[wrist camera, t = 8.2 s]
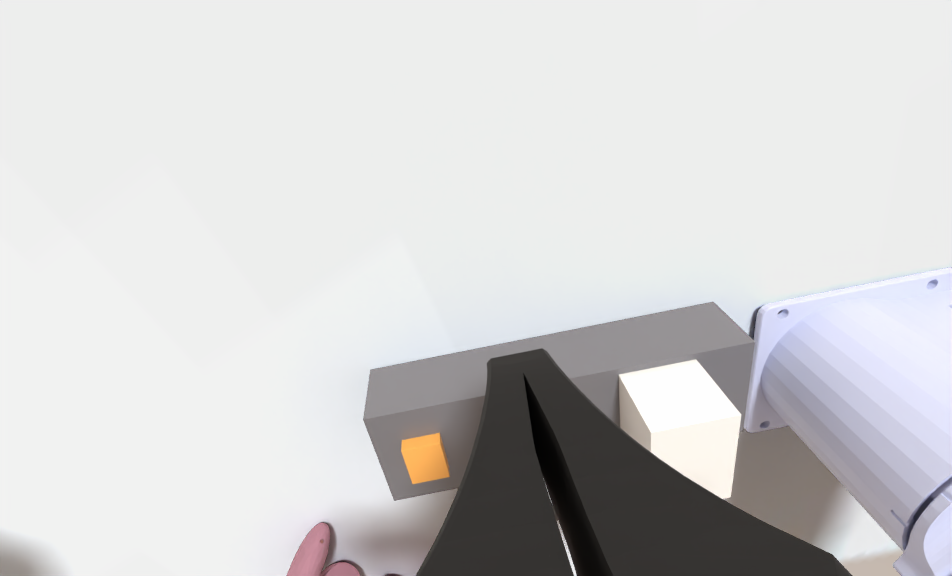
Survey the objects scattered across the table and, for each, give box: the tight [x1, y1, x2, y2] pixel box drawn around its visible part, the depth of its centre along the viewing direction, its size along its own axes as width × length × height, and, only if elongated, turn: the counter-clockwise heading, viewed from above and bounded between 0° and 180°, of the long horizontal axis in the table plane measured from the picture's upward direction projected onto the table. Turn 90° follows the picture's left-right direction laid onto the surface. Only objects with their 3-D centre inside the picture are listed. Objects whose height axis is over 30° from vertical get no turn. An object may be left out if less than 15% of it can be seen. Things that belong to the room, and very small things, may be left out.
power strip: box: [363, 302, 755, 521], centre depth 23 cm, size 16×12×6 cm
